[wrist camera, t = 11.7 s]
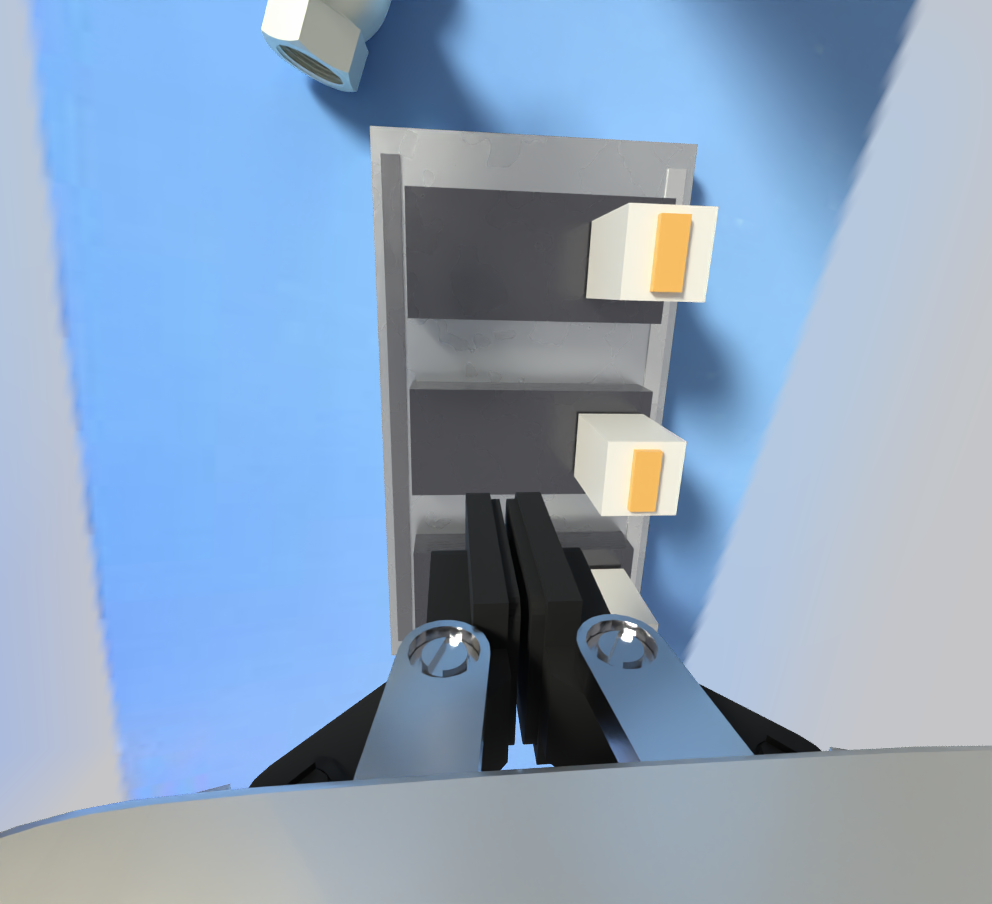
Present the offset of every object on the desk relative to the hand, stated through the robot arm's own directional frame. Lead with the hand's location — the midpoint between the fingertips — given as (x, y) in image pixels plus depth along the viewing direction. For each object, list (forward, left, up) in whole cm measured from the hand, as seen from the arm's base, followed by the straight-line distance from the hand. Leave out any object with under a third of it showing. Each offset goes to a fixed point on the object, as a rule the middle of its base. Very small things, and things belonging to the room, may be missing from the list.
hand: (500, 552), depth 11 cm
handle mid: (+1, +6, -12) cm, 13 cm away
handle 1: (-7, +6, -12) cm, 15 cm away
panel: (+1, +3, -16) cm, 16 cm away
